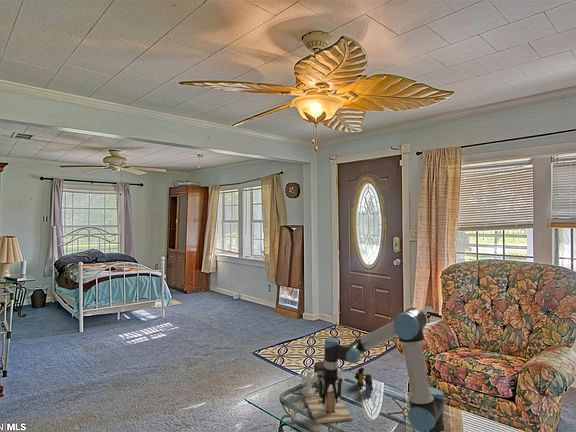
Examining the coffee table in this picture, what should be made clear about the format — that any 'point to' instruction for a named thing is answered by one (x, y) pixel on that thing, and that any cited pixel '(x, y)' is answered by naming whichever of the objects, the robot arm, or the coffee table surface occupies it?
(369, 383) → the doll family
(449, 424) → the coffee table surface
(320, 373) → the green brown figure
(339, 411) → the keyhole board
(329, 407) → the peg
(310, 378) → the figurine
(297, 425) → the coffee table surface
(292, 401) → the coffee table surface
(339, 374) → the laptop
